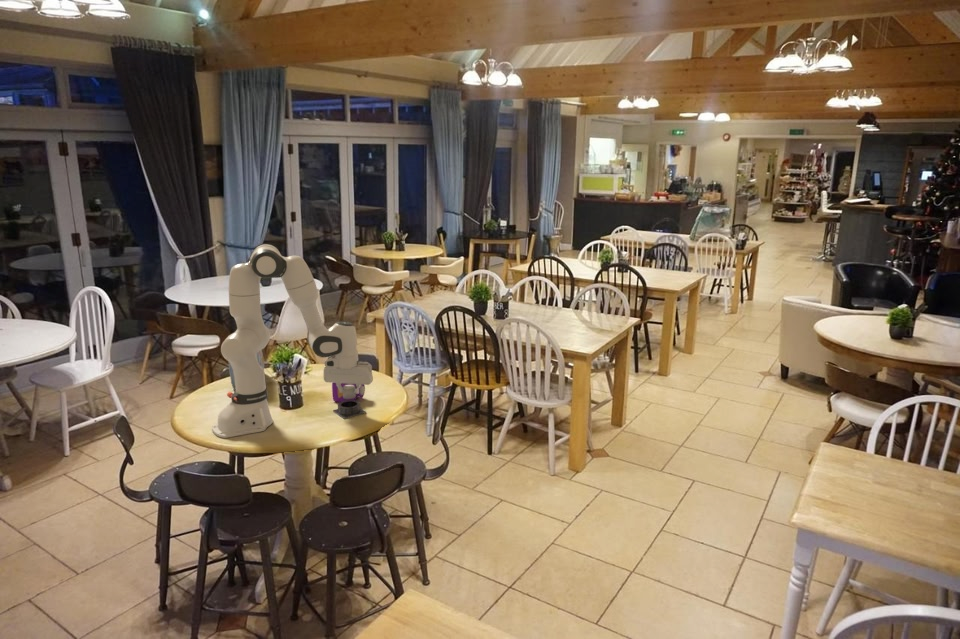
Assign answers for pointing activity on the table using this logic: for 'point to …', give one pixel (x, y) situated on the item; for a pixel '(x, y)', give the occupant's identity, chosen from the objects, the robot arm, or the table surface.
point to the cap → (348, 392)
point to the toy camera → (339, 396)
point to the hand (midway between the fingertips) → (349, 393)
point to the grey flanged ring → (349, 409)
